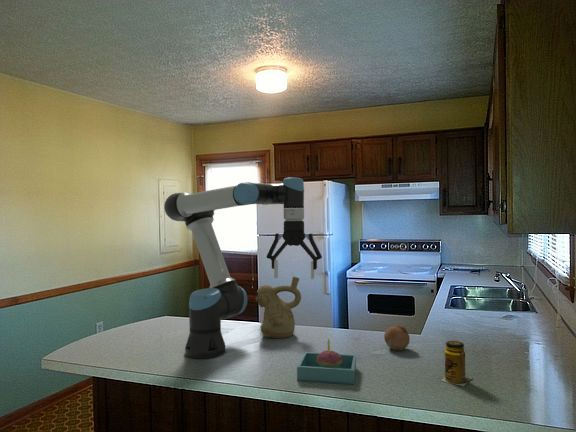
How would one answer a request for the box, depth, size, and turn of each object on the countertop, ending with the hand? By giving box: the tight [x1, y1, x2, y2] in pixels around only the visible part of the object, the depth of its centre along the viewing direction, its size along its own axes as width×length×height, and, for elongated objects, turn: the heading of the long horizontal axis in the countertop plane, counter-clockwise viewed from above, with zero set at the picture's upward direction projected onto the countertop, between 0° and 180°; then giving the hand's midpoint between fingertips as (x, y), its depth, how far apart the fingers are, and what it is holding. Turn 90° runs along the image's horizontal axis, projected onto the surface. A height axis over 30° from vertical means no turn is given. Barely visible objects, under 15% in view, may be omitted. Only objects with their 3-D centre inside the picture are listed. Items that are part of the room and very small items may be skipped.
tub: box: [296, 351, 357, 386], centre depth 148 cm, size 18×15×4 cm
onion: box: [383, 325, 411, 352], centre depth 173 cm, size 10×9×10 cm
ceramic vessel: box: [255, 276, 302, 339], centre depth 194 cm, size 17×20×25 cm
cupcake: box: [316, 338, 342, 368], centre depth 147 cm, size 9×8×12 cm
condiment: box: [439, 340, 473, 387], centre depth 142 cm, size 7×8×12 cm
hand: (294, 278), depth 166 cm, fingers open, 13 cm apart
